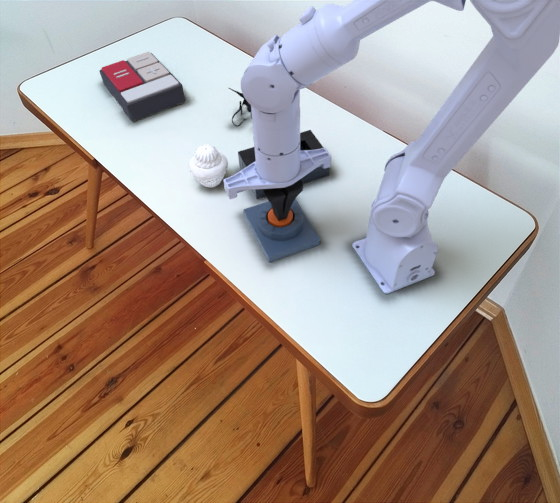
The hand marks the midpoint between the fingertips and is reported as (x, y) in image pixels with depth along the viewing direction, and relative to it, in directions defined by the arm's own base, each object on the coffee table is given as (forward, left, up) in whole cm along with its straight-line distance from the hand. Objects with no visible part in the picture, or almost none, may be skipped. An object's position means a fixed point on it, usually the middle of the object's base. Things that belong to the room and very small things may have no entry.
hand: (280, 215), depth 74 cm
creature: (+27, -6, -3) cm, 28 cm away
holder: (+11, -5, -3) cm, 13 cm away
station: (0, 0, -3) cm, 3 cm away
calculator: (+43, +10, -3) cm, 44 cm away
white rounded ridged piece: (+14, +6, -3) cm, 16 cm away
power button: (0, 0, -2) cm, 2 cm away
